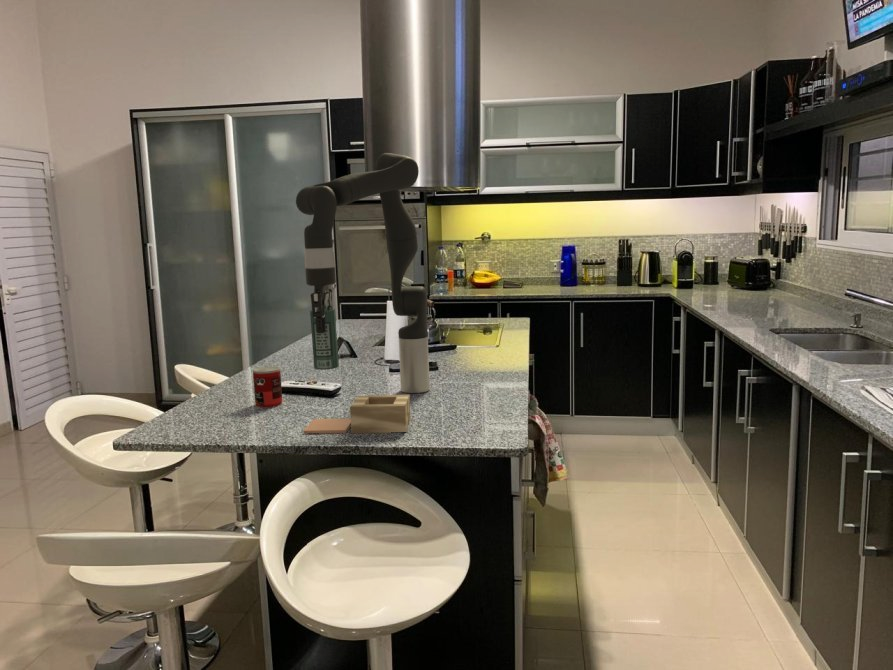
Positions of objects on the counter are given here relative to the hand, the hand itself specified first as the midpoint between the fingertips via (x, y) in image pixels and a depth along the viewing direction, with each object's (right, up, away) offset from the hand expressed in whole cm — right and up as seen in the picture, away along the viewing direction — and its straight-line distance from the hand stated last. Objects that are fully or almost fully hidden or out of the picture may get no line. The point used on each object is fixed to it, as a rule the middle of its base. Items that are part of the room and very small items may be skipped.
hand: (324, 330), depth 183 cm
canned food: (-22, -22, +31) cm, 44 cm away
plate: (+1, -26, +4) cm, 26 cm away
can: (0, -10, +1) cm, 10 cm away
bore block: (+15, -25, +3) cm, 29 cm away
